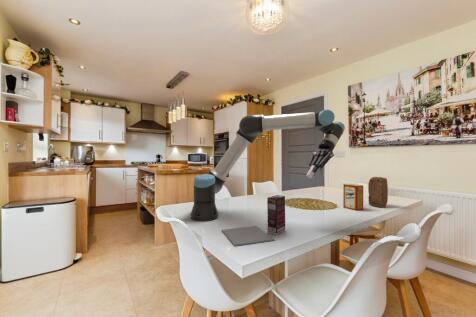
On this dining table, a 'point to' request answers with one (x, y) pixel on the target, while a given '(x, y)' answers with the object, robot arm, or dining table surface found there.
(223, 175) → the robot arm
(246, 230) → the mat
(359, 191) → the baking soda box
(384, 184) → the block
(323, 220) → the dining table surface
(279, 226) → the supplement box
